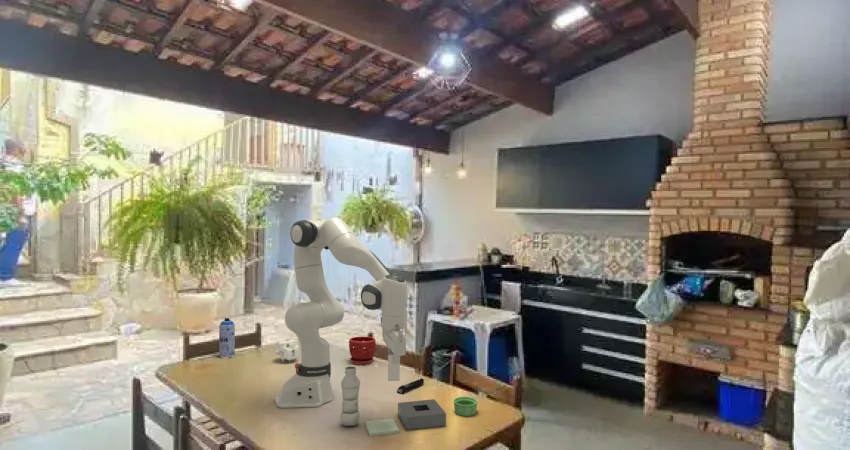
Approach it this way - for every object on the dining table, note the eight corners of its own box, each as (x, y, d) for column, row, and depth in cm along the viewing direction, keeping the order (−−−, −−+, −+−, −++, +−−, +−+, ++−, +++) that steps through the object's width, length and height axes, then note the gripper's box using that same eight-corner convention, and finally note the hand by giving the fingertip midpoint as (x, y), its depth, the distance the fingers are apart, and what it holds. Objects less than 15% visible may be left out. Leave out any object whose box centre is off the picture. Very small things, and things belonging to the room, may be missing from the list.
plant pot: (373, 366, 245) (373, 341, 245) (346, 366, 245) (347, 341, 245) (376, 358, 258) (376, 335, 258) (351, 358, 258) (351, 335, 258)
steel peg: (387, 381, 173) (388, 355, 173) (387, 377, 177) (388, 351, 177) (399, 380, 173) (399, 355, 173) (399, 377, 177) (399, 351, 177)
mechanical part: (291, 356, 261) (291, 333, 261) (303, 361, 252) (303, 338, 252) (271, 360, 254) (271, 337, 253) (282, 365, 245) (282, 341, 244)
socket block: (407, 430, 171) (407, 417, 171) (397, 415, 185) (397, 402, 185) (446, 426, 175) (446, 413, 175) (434, 411, 189) (434, 399, 189)
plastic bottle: (341, 421, 179) (341, 365, 178) (360, 420, 179) (360, 365, 179) (339, 429, 172) (339, 371, 172) (359, 428, 173) (359, 370, 173)
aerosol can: (215, 358, 258) (215, 319, 257) (224, 354, 265) (224, 316, 265) (229, 358, 256) (229, 319, 256) (238, 354, 264) (238, 316, 264)
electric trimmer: (426, 386, 218) (426, 378, 218) (402, 395, 206) (402, 387, 206) (419, 384, 220) (419, 377, 220) (396, 393, 208) (396, 385, 208)
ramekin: (470, 419, 182) (470, 407, 182) (449, 413, 186) (449, 402, 186) (481, 411, 189) (481, 399, 189) (460, 406, 194) (460, 394, 194)
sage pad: (369, 436, 167) (369, 433, 167) (364, 424, 176) (364, 421, 176) (399, 432, 170) (399, 429, 169) (392, 421, 179) (392, 418, 179)
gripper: (411, 328, 166) (410, 370, 166) (396, 315, 185) (395, 353, 186) (392, 329, 164) (391, 371, 164) (379, 316, 183) (378, 354, 184)
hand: (393, 361), depth 175 cm, fingers closed on steel peg, 4 cm apart
